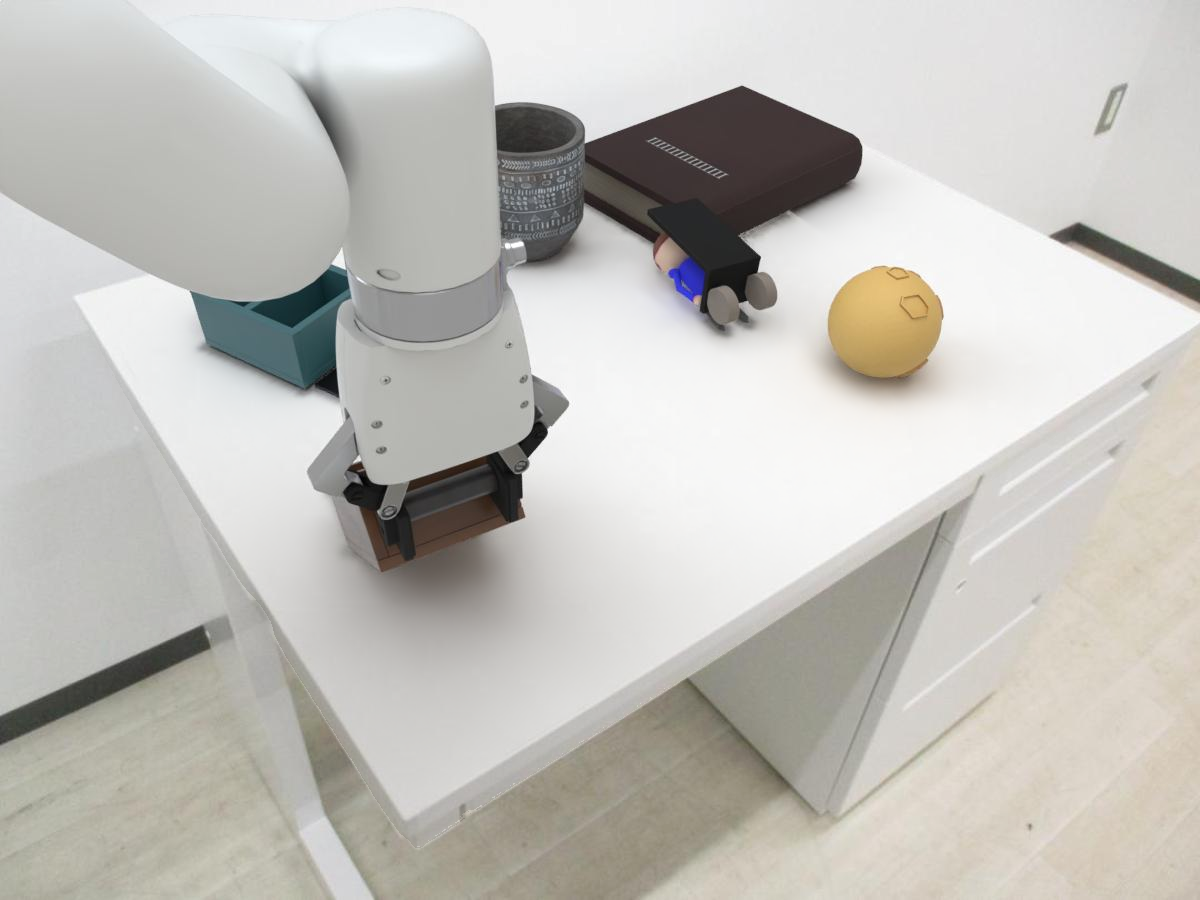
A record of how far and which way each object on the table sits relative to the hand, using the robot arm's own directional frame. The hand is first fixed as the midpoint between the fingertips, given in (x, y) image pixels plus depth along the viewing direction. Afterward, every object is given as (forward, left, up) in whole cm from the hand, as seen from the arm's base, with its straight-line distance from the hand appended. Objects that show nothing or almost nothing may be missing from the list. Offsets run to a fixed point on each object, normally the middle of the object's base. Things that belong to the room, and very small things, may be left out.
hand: (453, 524), depth 59 cm
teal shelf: (-2, +38, -9) cm, 39 cm away
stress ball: (+45, +9, -10) cm, 47 cm away
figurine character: (+37, +25, -10) cm, 46 cm away
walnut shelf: (0, +3, -5) cm, 6 cm away
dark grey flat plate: (+3, +29, -10) cm, 30 cm away
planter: (+26, +43, -10) cm, 51 cm away
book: (+51, +43, -10) cm, 67 cm away
